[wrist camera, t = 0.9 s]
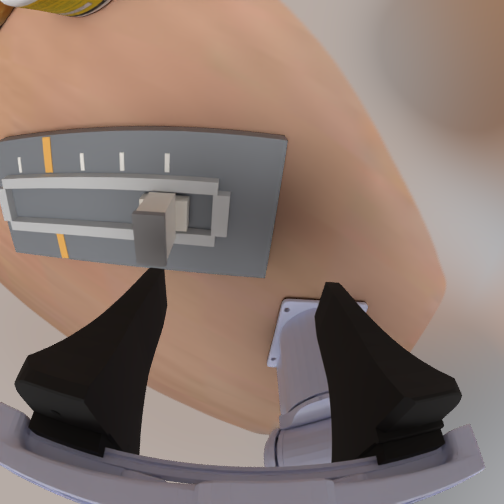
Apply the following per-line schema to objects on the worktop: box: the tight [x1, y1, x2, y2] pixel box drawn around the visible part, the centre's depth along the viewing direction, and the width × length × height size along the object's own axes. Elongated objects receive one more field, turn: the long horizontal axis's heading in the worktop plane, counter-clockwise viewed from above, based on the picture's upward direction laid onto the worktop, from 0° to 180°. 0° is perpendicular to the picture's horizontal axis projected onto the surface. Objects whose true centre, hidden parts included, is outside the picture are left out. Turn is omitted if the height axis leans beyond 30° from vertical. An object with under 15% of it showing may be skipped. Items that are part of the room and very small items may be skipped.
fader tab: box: [132, 192, 189, 267], centre depth 17 cm, size 3×3×4 cm
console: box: [0, 126, 288, 278], centre depth 19 cm, size 10×22×2 cm, turn 83°
